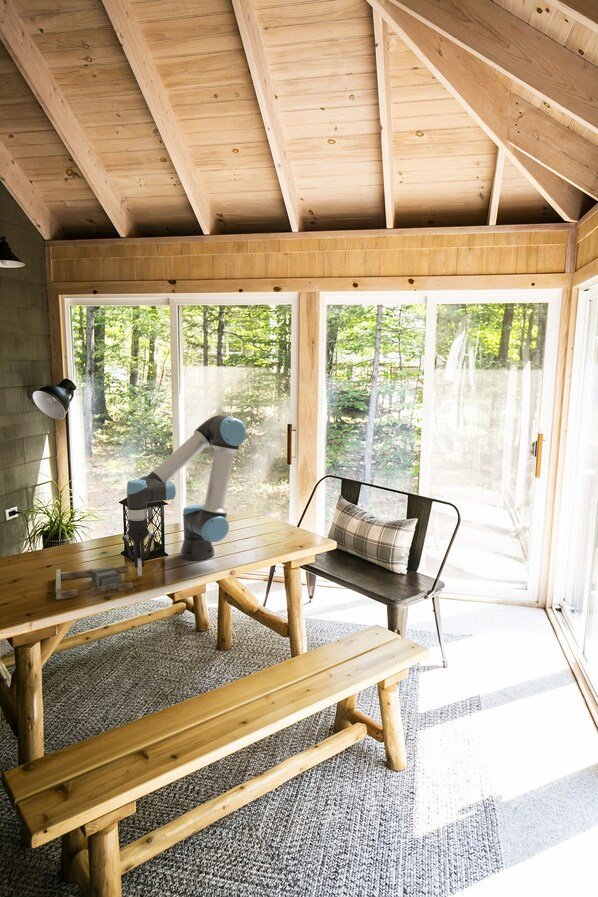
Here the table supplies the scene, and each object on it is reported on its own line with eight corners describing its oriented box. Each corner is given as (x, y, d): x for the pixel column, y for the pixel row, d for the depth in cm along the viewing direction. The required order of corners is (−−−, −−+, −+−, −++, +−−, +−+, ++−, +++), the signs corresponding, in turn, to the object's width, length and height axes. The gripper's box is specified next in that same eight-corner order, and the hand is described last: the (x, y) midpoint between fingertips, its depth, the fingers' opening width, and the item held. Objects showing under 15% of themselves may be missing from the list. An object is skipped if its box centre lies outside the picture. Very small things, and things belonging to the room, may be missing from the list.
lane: (126, 570, 259) (126, 561, 258) (132, 589, 238) (132, 579, 237) (56, 579, 249) (56, 569, 249) (56, 599, 228) (55, 589, 227)
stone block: (113, 577, 252) (113, 564, 252) (125, 587, 241) (125, 574, 240) (91, 581, 247) (91, 568, 247) (102, 592, 236) (102, 579, 235)
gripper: (153, 514, 252) (154, 570, 255) (120, 517, 247) (122, 573, 251) (155, 519, 245) (157, 576, 248) (121, 522, 240) (124, 580, 244)
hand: (139, 574), depth 249 cm, fingers closed
